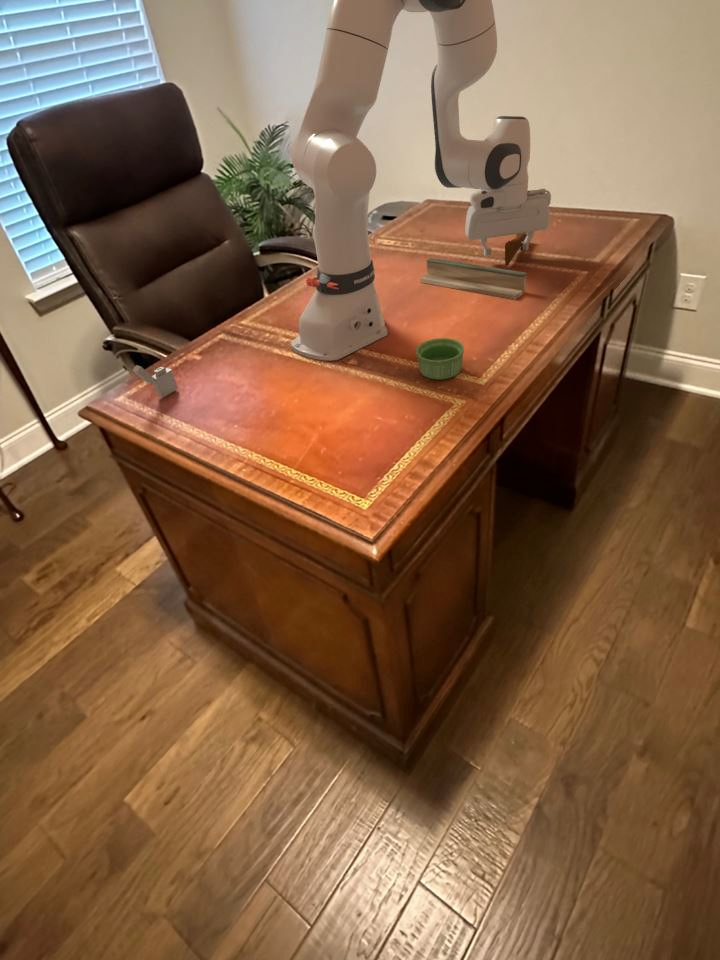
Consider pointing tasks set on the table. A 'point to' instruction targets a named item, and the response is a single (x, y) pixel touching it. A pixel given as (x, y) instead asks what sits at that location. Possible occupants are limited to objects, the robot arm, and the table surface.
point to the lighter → (158, 380)
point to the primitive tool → (513, 247)
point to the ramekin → (440, 358)
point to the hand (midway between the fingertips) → (505, 252)
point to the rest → (475, 278)
